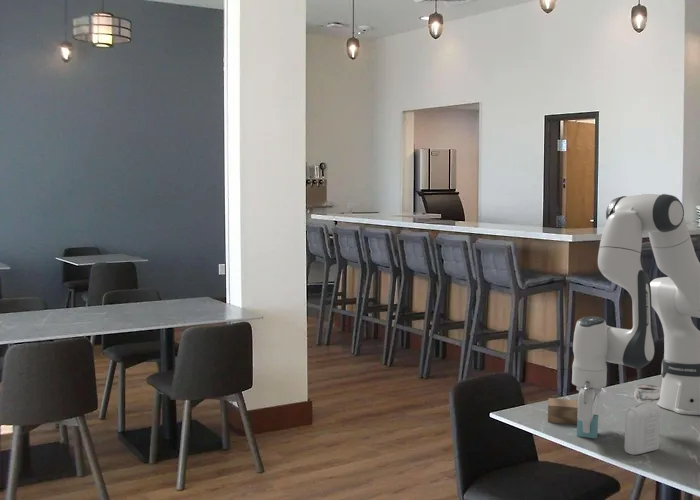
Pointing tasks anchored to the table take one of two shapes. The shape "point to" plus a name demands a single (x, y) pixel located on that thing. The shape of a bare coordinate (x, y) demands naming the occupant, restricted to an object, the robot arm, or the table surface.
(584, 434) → the teal cube
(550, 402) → the walnut block
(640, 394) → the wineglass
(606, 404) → the table surface
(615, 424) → the table surface
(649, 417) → the white plastic bottle
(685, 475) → the table surface
